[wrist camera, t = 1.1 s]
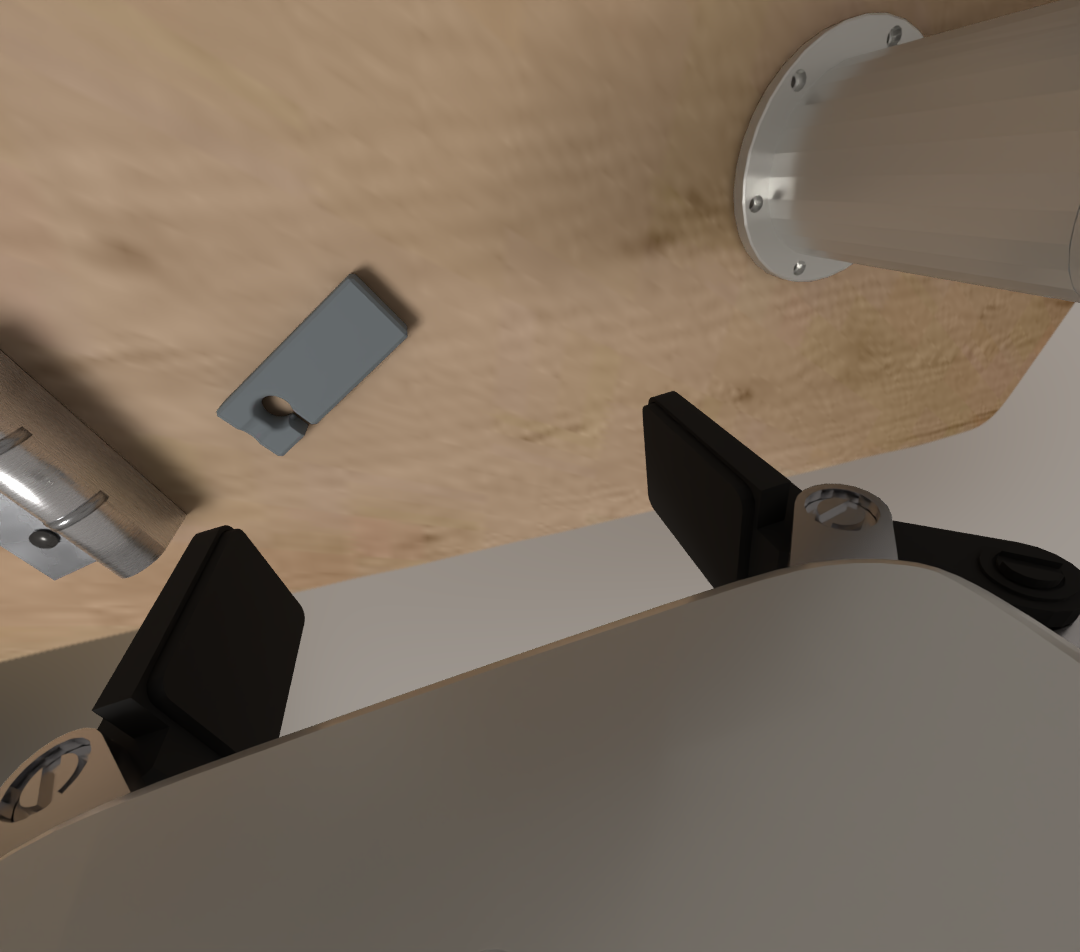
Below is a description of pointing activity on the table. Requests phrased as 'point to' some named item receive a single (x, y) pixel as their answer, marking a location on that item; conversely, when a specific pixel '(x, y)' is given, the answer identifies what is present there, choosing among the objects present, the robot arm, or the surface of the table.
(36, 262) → the table surface
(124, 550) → the metal hinge
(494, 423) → the table surface
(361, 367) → the bracket
